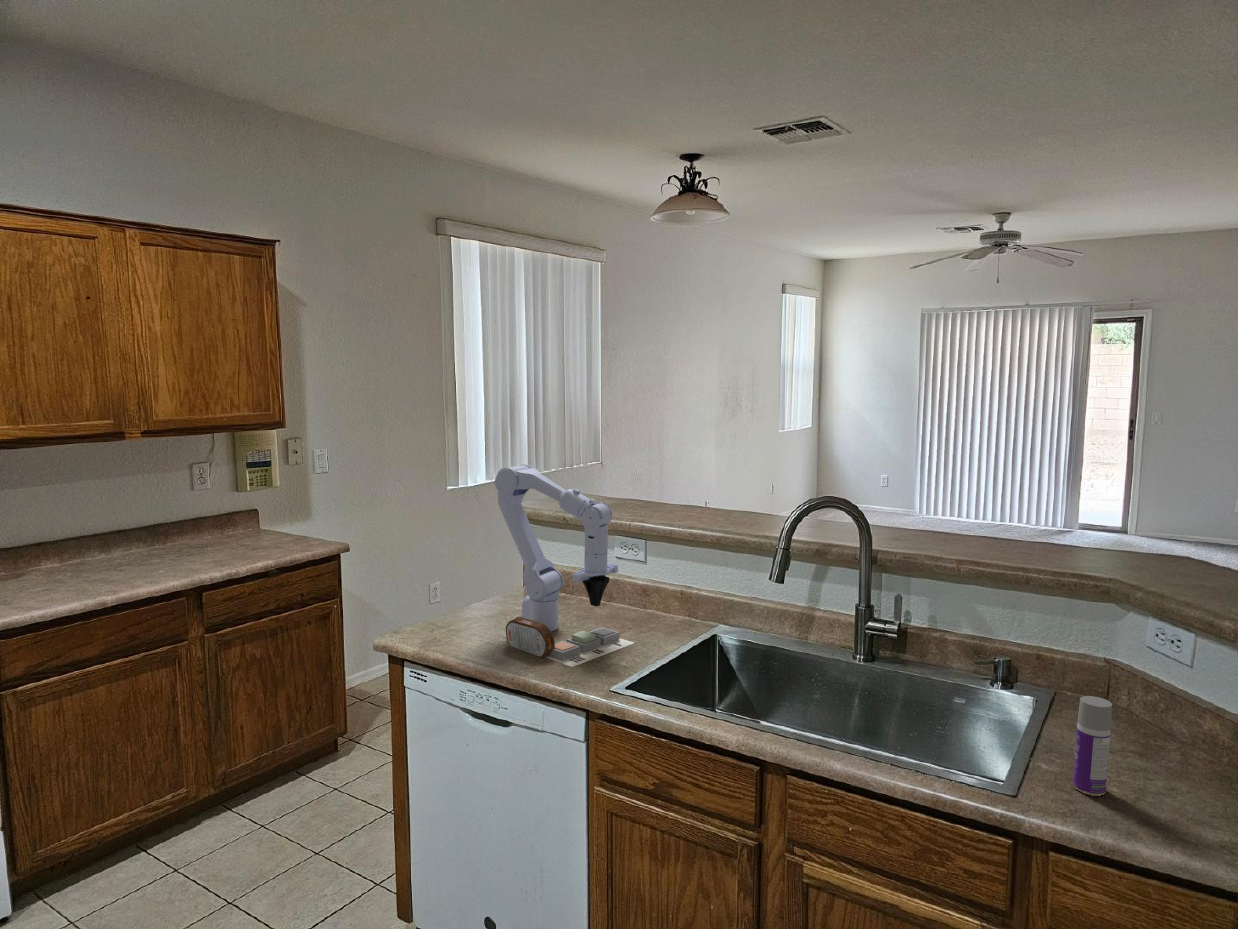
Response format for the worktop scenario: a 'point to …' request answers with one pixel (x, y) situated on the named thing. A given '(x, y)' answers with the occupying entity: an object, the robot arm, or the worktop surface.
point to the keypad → (588, 649)
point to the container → (1092, 744)
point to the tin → (530, 636)
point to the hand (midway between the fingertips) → (595, 605)
